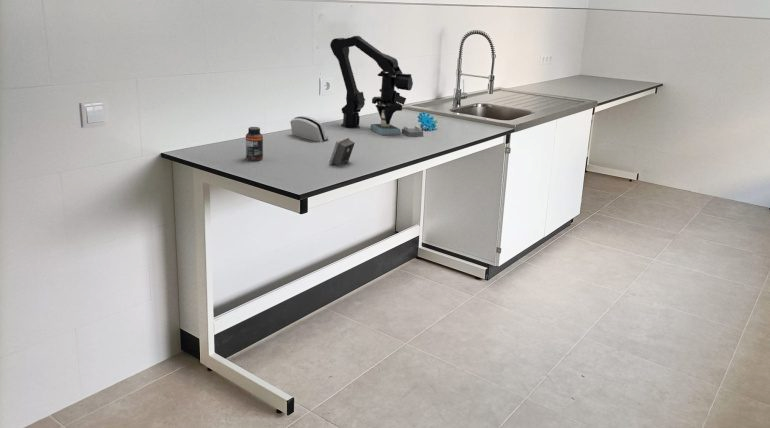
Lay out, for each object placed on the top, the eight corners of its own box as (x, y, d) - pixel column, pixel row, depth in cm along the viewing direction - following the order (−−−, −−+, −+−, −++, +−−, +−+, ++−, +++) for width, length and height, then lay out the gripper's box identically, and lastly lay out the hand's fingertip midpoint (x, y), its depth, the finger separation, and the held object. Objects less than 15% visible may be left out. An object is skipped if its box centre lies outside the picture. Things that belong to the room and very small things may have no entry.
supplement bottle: (255, 156, 239) (255, 125, 235) (266, 159, 235) (266, 128, 231) (242, 158, 234) (242, 127, 231) (253, 162, 231) (253, 130, 227)
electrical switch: (340, 159, 243) (343, 135, 240) (352, 162, 241) (356, 138, 238) (328, 164, 235) (331, 139, 231) (341, 168, 233) (345, 143, 230)
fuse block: (408, 137, 286) (409, 129, 285) (401, 133, 292) (402, 125, 291) (423, 136, 289) (423, 128, 288) (415, 132, 295) (416, 125, 294)
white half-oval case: (329, 140, 269) (324, 118, 264) (321, 146, 267) (316, 124, 261) (300, 132, 279) (295, 111, 273) (292, 138, 276) (287, 116, 270)
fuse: (383, 127, 289) (384, 111, 286) (379, 125, 292) (380, 109, 290) (391, 127, 290) (392, 111, 288) (387, 125, 294) (388, 109, 291)
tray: (381, 135, 285) (381, 129, 285) (370, 129, 295) (370, 124, 294) (399, 134, 289) (400, 128, 289) (388, 129, 299) (388, 123, 298)
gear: (422, 128, 297) (416, 109, 301) (415, 135, 301) (409, 117, 305) (441, 130, 303) (435, 112, 307) (434, 137, 308) (428, 119, 311)
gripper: (414, 91, 281) (411, 127, 286) (394, 84, 297) (392, 118, 302) (391, 91, 276) (388, 128, 282) (372, 84, 292) (370, 118, 297)
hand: (385, 123), depth 291 cm, fingers closed on fuse, 4 cm apart
